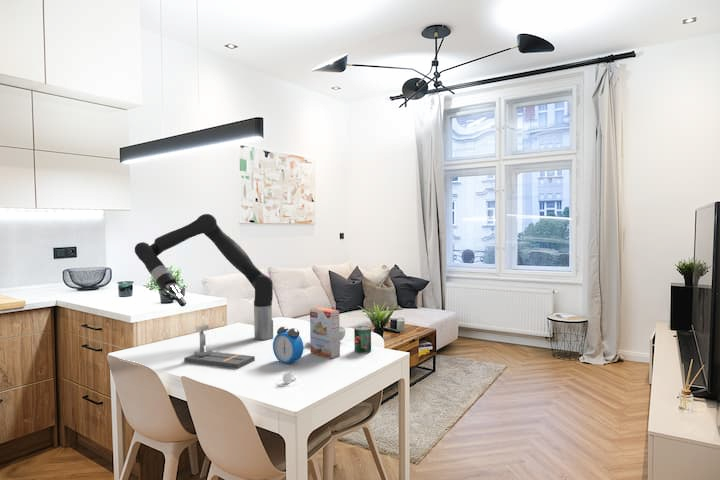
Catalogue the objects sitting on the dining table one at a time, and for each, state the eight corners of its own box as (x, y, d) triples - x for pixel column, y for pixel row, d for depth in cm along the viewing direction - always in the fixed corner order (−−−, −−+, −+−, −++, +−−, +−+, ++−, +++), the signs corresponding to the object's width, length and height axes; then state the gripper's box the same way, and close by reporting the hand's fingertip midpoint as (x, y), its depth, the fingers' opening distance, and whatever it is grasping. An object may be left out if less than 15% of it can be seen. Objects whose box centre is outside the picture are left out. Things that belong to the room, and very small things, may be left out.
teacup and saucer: (292, 378, 177) (291, 367, 177) (304, 383, 171) (304, 372, 171) (272, 383, 171) (272, 373, 171) (284, 389, 165) (284, 378, 165)
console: (184, 362, 199) (184, 357, 198) (203, 354, 210) (203, 350, 210) (237, 368, 188) (237, 363, 188) (254, 360, 199) (254, 356, 199)
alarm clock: (272, 361, 198) (271, 327, 198) (282, 358, 203) (282, 324, 203) (294, 366, 191) (293, 330, 190) (304, 362, 196) (304, 328, 195)
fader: (194, 355, 201) (193, 326, 200) (202, 352, 206) (202, 324, 205) (203, 356, 199) (202, 327, 198) (211, 353, 204) (211, 325, 204)
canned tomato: (374, 351, 213) (374, 327, 213) (362, 354, 207) (362, 330, 207) (362, 348, 219) (362, 325, 218) (350, 351, 213) (350, 327, 213)
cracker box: (309, 353, 210) (309, 308, 210) (319, 350, 215) (318, 306, 214) (330, 359, 201) (330, 311, 200) (340, 356, 205) (339, 309, 204)
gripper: (156, 273, 205) (177, 301, 201) (178, 270, 217) (198, 297, 213) (147, 284, 207) (168, 313, 203) (169, 281, 219) (190, 308, 215)
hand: (184, 305), depth 208 cm, fingers closed
